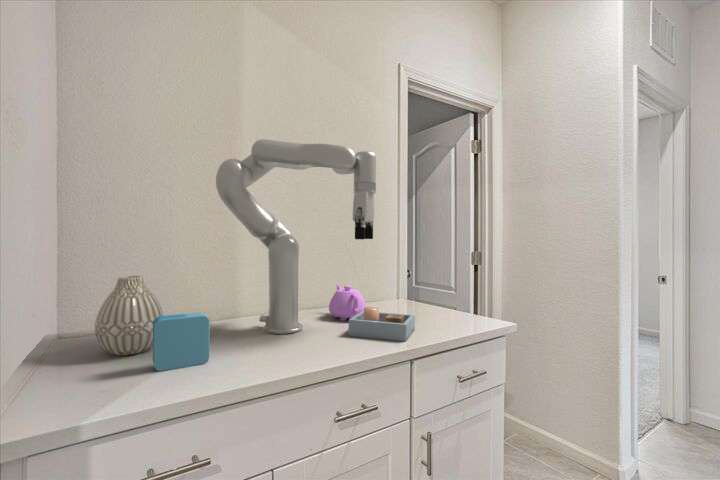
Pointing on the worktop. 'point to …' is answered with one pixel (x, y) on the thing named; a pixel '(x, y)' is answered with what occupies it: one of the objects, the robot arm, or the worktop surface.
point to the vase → (127, 317)
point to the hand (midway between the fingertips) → (364, 239)
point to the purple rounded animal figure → (346, 303)
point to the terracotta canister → (371, 313)
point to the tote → (382, 327)
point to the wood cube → (395, 318)
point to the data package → (180, 341)
